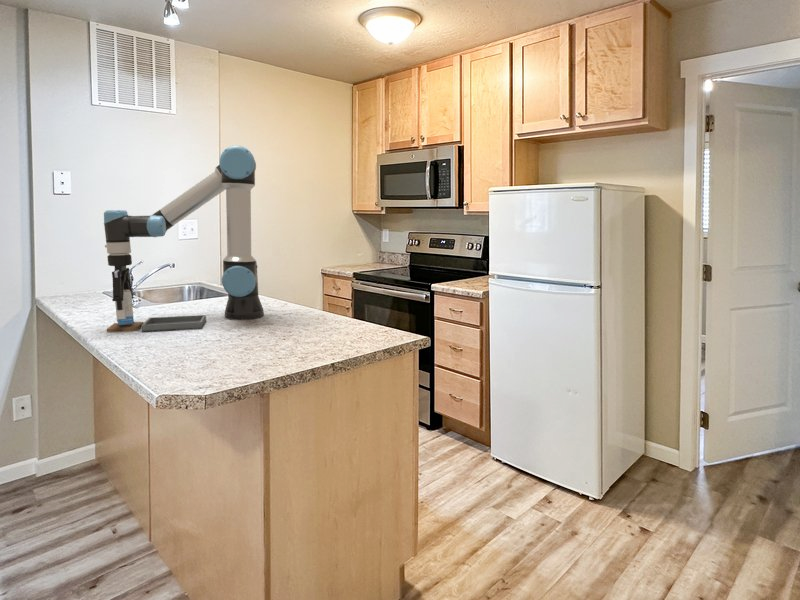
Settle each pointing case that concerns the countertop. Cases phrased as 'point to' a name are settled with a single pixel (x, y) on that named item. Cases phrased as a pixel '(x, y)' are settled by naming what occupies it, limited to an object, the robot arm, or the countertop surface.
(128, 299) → the ink box
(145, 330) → the tray
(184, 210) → the robot arm
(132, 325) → the board
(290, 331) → the countertop surface
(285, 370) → the countertop surface
